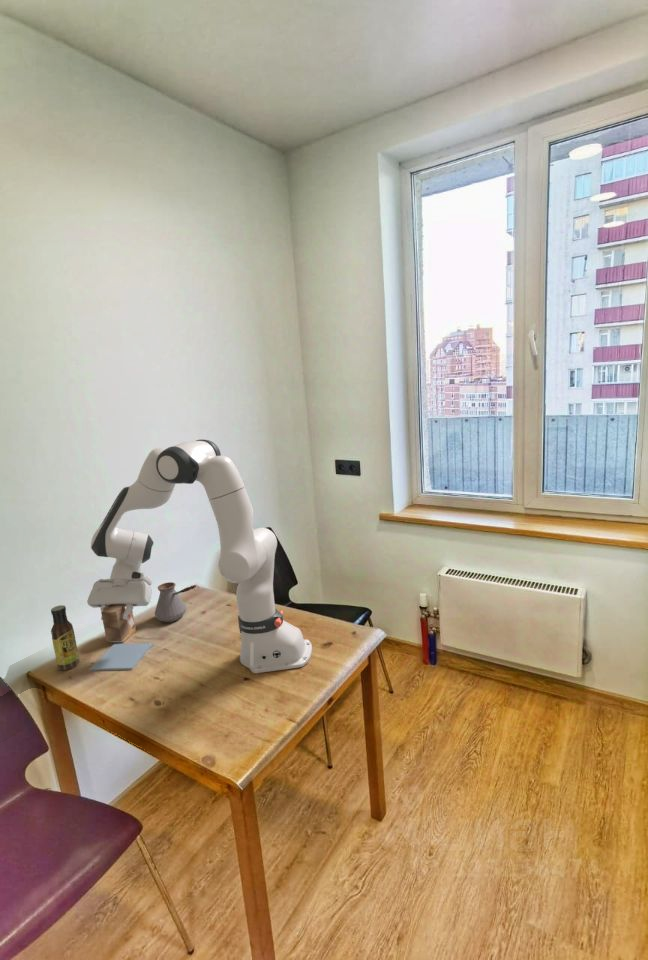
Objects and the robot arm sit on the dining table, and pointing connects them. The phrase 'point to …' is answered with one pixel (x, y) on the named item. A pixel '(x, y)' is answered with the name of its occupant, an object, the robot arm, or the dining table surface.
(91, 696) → the dining table surface
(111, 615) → the walnut block
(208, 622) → the dining table surface
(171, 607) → the coffee pot
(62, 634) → the sauce bottle
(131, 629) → the small box
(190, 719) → the dining table surface
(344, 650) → the dining table surface
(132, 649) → the slate board
